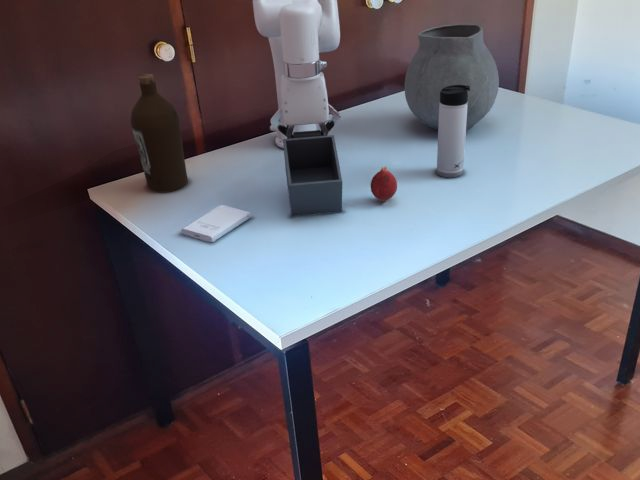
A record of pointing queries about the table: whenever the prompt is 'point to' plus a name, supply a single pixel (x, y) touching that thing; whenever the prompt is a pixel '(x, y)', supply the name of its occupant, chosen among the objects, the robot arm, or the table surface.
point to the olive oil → (158, 139)
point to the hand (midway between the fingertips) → (308, 151)
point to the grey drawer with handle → (312, 173)
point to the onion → (383, 185)
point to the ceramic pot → (451, 72)
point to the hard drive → (216, 223)
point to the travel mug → (452, 130)
